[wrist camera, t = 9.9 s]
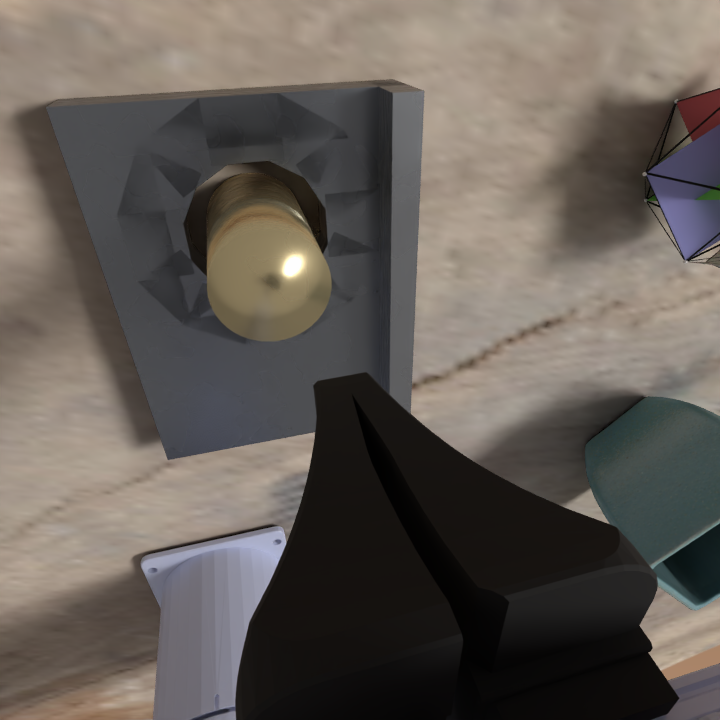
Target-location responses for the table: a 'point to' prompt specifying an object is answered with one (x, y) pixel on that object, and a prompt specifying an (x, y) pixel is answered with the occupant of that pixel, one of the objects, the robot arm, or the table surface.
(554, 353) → the table surface
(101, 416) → the table surface
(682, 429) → the flower pot
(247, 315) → the brass cylinder plug
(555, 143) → the table surface
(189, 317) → the jig
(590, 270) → the table surface
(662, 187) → the geometric puzzle
